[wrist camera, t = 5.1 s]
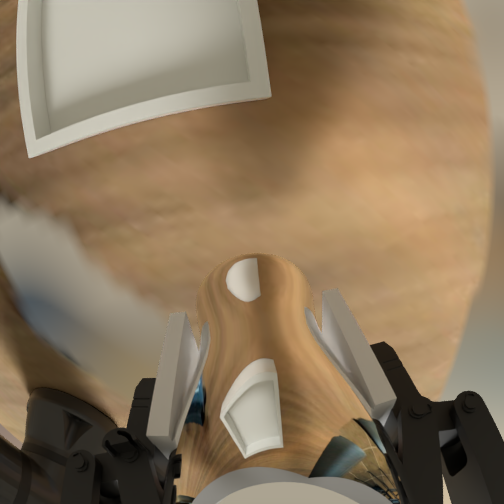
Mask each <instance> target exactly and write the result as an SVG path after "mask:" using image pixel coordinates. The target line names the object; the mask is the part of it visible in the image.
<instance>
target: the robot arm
mask: <svg viewBox="0 0 504 504" xmlns="http://www.w3.org/2000/svg"><path fill="white" fill-rule="evenodd" d="M322 335H323V337H324V339H325V341H326V342H327V344H328V345H329V347H330V348H331V350H332V351H333V353H334V354H335V356H336V357H337V359H338V360H339V361H340V363H341V364H342V365H343V367H344V368H345V370H346V371H347V372H348V374H349V375H350V376H351V378H352V379H353V381H354V382H355V384H356V385H357V387H358V388H359V389H360V391H361V392H362V394H363V395H364V397H365V398H366V399H367V401H368V402H369V404H370V405H371V407H372V408H373V410H374V412H375V413H376V415H377V417H378V418H379V420H380V422H381V423H382V425H383V427H384V428H385V430H386V431H387V433H388V435H389V436H390V438H391V440H392V443H393V445H394V447H395V449H396V451H397V454H398V456H399V458H400V460H401V462H402V465H403V467H404V469H405V471H406V474H407V476H408V479H409V482H410V485H411V488H412V491H413V494H414V497H415V500H416V503H417V504H443V479H442V474H443V477H444V480H445V483H446V486H447V490H448V493H449V496H450V500H451V503H452V504H504V441H503V439H502V437H501V434H500V432H499V430H498V428H497V426H496V424H495V422H494V420H493V418H492V416H491V414H490V412H489V410H488V408H487V406H486V405H485V403H484V401H483V399H482V398H481V396H480V395H479V394H477V393H475V392H473V391H464V392H462V393H460V394H459V395H458V396H457V398H456V399H455V400H452V401H442V402H433V401H430V400H429V399H428V398H426V397H423V396H421V395H420V393H419V392H418V390H417V389H416V387H415V385H414V383H413V381H412V380H411V378H410V376H409V374H408V373H407V371H406V369H405V368H404V367H403V364H402V362H401V361H400V359H399V357H398V356H397V354H396V352H395V351H394V349H393V348H392V347H391V346H389V345H388V344H387V343H385V342H380V343H376V344H373V345H369V343H368V341H367V340H366V338H365V336H364V334H363V332H362V330H361V329H360V327H359V325H358V323H357V321H356V320H355V318H354V316H353V314H352V312H351V311H350V309H349V307H348V305H347V304H346V302H345V300H344V298H343V297H342V295H341V293H340V291H339V290H338V288H336V289H331V290H325V291H322ZM198 356H199V350H198V347H197V344H196V341H195V339H194V336H193V333H192V330H191V327H190V323H189V320H188V317H187V314H186V312H179V313H170V317H169V321H168V326H167V330H166V335H165V339H164V344H163V348H162V353H161V358H160V363H159V367H158V372H157V377H156V378H143V379H142V380H141V381H140V383H139V384H138V385H137V387H136V389H135V393H134V397H133V399H134V400H133V401H132V406H131V407H132V408H131V410H130V414H129V419H128V424H127V428H117V427H116V425H115V424H114V423H113V422H112V421H111V420H110V419H109V418H107V417H106V416H105V415H104V414H102V413H101V412H100V411H98V410H97V409H95V408H93V407H92V406H90V405H89V404H87V403H85V402H83V401H81V400H79V399H77V398H75V397H73V396H71V395H68V394H66V393H63V392H60V391H57V390H54V389H49V388H37V389H35V390H33V392H32V394H31V396H30V398H29V400H28V402H27V412H28V413H27V419H26V430H25V440H24V443H23V446H22V448H21V450H19V449H18V448H17V447H16V446H14V445H13V444H12V443H10V442H9V441H8V440H6V439H5V438H4V437H3V436H1V435H0V504H162V501H163V491H164V482H165V473H166V468H167V464H168V460H169V455H170V451H171V447H172V443H173V438H174V434H175V431H176V428H177V424H178V421H179V418H180V415H181V411H182V408H183V405H184V402H185V399H186V396H187V393H188V390H189V387H190V384H191V381H192V378H193V374H194V371H195V367H196V364H197V361H198Z"/></svg>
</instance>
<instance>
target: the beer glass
mask: <svg viewBox="0 0 504 504" xmlns="http://www.w3.org/2000/svg"><path fill="white" fill-rule="evenodd" d="M196 315H197V321H198V327H199V332H200V350H199V356H198V361H197V364H196V367H195V371H194V374H193V378H192V381H191V384H190V387H189V390H188V393H187V396H186V399H185V402H184V405H183V408H182V411H181V415H180V418H179V421H178V424H177V428H176V431H175V434H174V438H173V443H172V447H171V451H170V455H169V460H168V464H167V468H166V473H165V482H164V491H163V501H162V504H417V503H416V500H415V497H414V494H413V491H412V488H411V485H410V482H409V479H408V476H407V474H406V471H405V469H404V467H403V465H402V462H401V460H400V458H399V456H398V454H397V451H396V449H395V447H394V445H393V443H392V440H391V438H390V436H389V435H388V433H387V431H386V430H385V428H384V427H383V425H382V423H381V422H380V420H379V418H378V417H377V415H376V413H375V412H374V410H373V408H372V407H371V405H370V404H369V402H368V401H367V399H366V398H365V397H364V395H363V394H362V392H361V391H360V389H359V388H358V387H357V385H356V384H355V382H354V381H353V379H352V378H351V376H350V375H349V374H348V372H347V371H346V370H345V368H344V367H343V365H342V364H341V363H340V361H339V360H338V359H337V357H336V356H335V354H334V353H333V351H332V350H331V348H330V347H329V345H328V344H327V342H326V341H325V339H324V337H323V335H322V333H321V331H320V329H319V327H318V324H317V320H316V316H315V307H314V299H313V294H312V289H311V286H310V284H309V281H308V279H307V278H306V276H305V275H304V273H303V272H302V271H301V270H300V269H299V268H298V267H297V266H296V265H294V264H293V263H292V262H290V261H288V260H286V259H284V258H282V257H279V256H276V255H273V254H267V253H247V254H242V255H238V256H235V257H232V258H229V259H227V260H225V261H223V262H222V263H220V264H218V265H217V266H216V267H214V268H213V269H212V270H211V271H210V272H209V273H208V274H207V275H206V277H205V278H204V280H203V281H202V283H201V285H200V287H199V289H198V292H197V296H196Z"/></svg>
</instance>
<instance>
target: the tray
mask: <svg viewBox="0 0 504 504" xmlns="http://www.w3.org/2000/svg"><path fill="white" fill-rule="evenodd" d="M16 56H17V78H18V91H19V101H20V109H21V117H22V123H23V130H24V136H25V141H26V146H27V152H28V156H29V158H32V157H35V156H38V155H41V154H44V153H47V152H50V151H53V150H56V149H58V148H61V147H63V146H66V145H69V144H71V143H74V142H77V141H80V140H83V139H85V138H88V137H91V136H94V135H97V134H100V133H104V132H107V131H110V130H113V129H117V128H120V127H124V126H127V125H131V124H134V123H138V122H142V121H146V120H150V119H154V118H158V117H162V116H167V115H171V114H176V113H181V112H185V111H190V110H196V109H201V108H207V107H213V106H219V105H225V104H232V103H239V102H247V101H255V100H265V99H268V98H270V97H272V95H271V88H270V81H269V73H268V66H267V60H266V53H265V46H264V40H263V33H262V27H261V21H260V15H259V9H258V3H257V0H19V1H18V13H17V34H16Z"/></svg>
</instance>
